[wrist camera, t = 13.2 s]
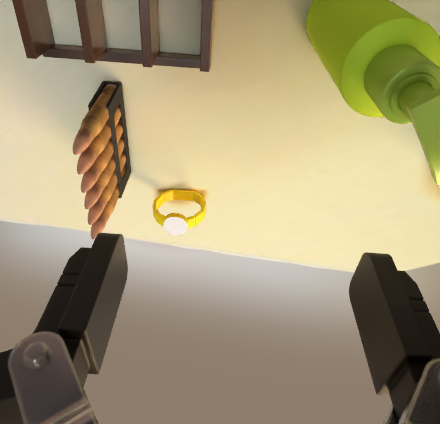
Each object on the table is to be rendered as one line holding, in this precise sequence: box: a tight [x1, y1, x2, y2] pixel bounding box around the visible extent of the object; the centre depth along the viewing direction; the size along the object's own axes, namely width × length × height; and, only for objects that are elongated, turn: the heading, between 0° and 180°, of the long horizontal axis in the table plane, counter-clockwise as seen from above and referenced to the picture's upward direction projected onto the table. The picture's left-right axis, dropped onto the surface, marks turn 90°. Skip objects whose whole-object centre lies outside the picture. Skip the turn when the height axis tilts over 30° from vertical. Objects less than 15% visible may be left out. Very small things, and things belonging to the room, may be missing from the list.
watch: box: [153, 189, 206, 236], centre depth 42 cm, size 6×3×6 cm, turn 89°
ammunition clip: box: [73, 81, 131, 239], centre depth 35 cm, size 11×2×12 cm, turn 176°
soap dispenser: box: [306, 0, 440, 186], centre depth 25 cm, size 6×7×20 cm
